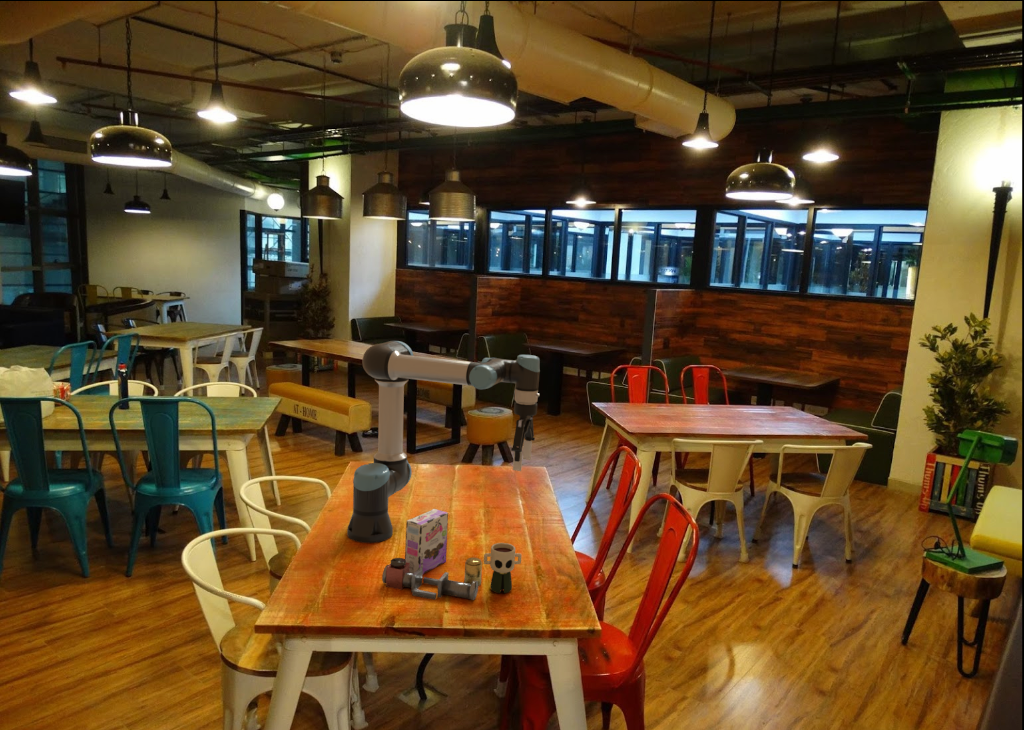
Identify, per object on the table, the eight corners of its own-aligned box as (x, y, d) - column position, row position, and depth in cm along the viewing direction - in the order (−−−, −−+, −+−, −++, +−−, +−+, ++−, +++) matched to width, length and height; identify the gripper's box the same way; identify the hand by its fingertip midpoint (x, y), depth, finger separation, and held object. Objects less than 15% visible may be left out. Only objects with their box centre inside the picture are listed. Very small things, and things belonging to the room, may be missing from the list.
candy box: (418, 577, 208) (420, 524, 206) (403, 571, 211) (405, 520, 209) (446, 561, 220) (449, 511, 217) (432, 556, 223) (434, 507, 221)
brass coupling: (461, 585, 205) (462, 562, 204) (467, 578, 210) (468, 556, 209) (478, 588, 204) (479, 565, 202) (483, 581, 208) (484, 558, 207)
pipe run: (379, 589, 200) (379, 565, 199) (392, 575, 208) (393, 553, 207) (469, 606, 193) (470, 581, 192) (479, 591, 201) (481, 568, 200)
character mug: (483, 596, 199) (485, 552, 197) (481, 584, 206) (483, 542, 204) (521, 595, 201) (523, 552, 199) (517, 584, 207) (520, 542, 206)
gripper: (528, 410, 216) (524, 476, 220) (545, 396, 240) (541, 456, 244) (504, 408, 218) (501, 473, 221) (523, 394, 242) (520, 453, 245)
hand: (522, 464), depth 232 cm, fingers open, 13 cm apart
